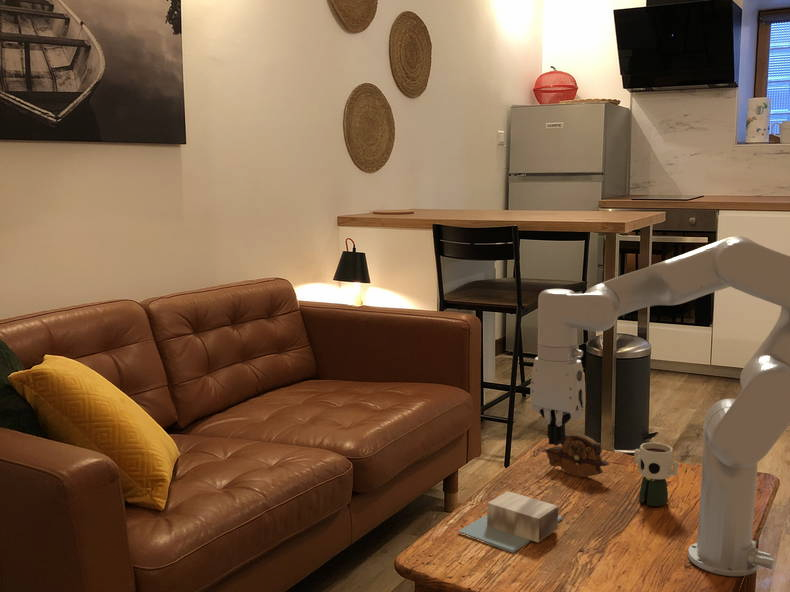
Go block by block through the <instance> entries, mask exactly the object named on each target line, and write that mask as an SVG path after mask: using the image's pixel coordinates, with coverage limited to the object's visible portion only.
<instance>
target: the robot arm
mask: <svg viewBox="0 0 790 592" xmlns="http://www.w3.org/2000/svg"><path fill="white" fill-rule="evenodd" d="M730 287H731V288H733V289H735V290H737V291H740V292H743V293H745V294H747V295H749V296H752V297H755V298H758V299H760V300H763V301H765V302H769V303H772V304H773V305H776V306H779V307H781V308H780V313H779V316H778V319H777V320H776V322H775V325H774V326H773V328H772V329H771V330H770V332H769V334H768V335H767V337H766V338H765V339H764V341H762V343H761V345H760V346H759V348H758V349H757V350H756V352H755V353H754V354H753V356H752V357H751V358H750V359H749V360H748V362H747V363H746V364H745V365H744V367H743V369H742V370H741V373H740V376H739V379H740V380H739V381H740V386H741V389H742V390H741V392H740V393H739V395H737V397H736V398H724V399H721V400H717V402H715V403H713V405H710V407H709V408H708V409H707V412H706V414H705V416H704V420H703V421H704V422H703V428H702V429H703V433H702V434H703V437H702V438H703V439H702V440H703V445H702V446H703V447H702V470H701V479H700V480H701V482H700V483H701V484H700V496H699V497H700V498H699V513H698V525H697V526H698V527H697V537H696V538H697V540H696V542H695V543H692V544H691V545H690V546H689V547H688V549H687V557H688V559H689V560H690V562H691V563H692V564H694V565H695V566H697V567H698V568H700V569H701V570H704V571H706V572H708V573H709V572H710V573H712V574H716V575H721V576H725V577H726V576H727V577H745V576H750V575H752V574H755V573H756V572H757V571H758V569H759V566H760V567H762V568H765V569H768V570H773V569H774V566H775V559H774V558H772V554H771V553H768V552H767V551H766V552H765V551H761V550H759V549H758V548H756V547H757V546H756V545H757V541H755V540H753V539H752V538H753V527H754V515H755V512H754V511H755V499H756V491H757V490H756V489H757V480H758V479H757V477H758V463H759V462H760V461H761V460H762V459H764V458H765V456H767V455H768V454H769V452H770V451H771V449H772V448H773V447H774V446H775V444H776V443H777V442H778V441H779V439H780V438H781V437H782V435H783V434H784V433H785V431H786V430H787V429H788V427H789V426H790V255H788V254H785V253H782V252H779V251H776V250H774V249H770V248H768V247H766V246H763V245H761V244H759V243H757V242H755V241H754V240H752V239H751V238H748V237H745V236H741V235H734V236H730V237H725V238H723V239H720V240H717V241H714V242H712V243H709V244H706V245H704V246H701V247H698V248H696V249H693V250H691V251H688V252H685V253H683V254H680V255H677V256H674V257H672V258H669V259H666V260H663V261H661V262H657V263H653V264H652V265H649V266H647V267H643V268H640V269H637V270H634V271H630V272H628V273H626V274H622V275H620V276H617V277H613V278H612V279H609V280H606V281H603V282H601V283H598V284H595V285H593V286H591V287H590V288H588V289H587V290H585V292H584V293H576V292H575V291H574V290H571V289H567V288H566V289H565V288H550V289H549V288H548V289H544V290H542V291H541V292H539V295H538V300H537V303H538V305H537V356H536V357H535V358H534V362H533V367H532V370H531V378H530V391H529V392H530V393H529V394H530V396H529V397H530V403H531V406H530V408H531V410H532V411H534V412H536V413H538V414H540V415H541V417H543V419H544V422H545V424H546V425H547V439H548V445H551V446H552V445H553V446H554V447H555V446H560V445H561V443H562V442H563V441H564V439H565V434H566V424H567V423H568V422H569V421H570V420H579V419H581V418H583V414H584V413H583V410H582V409H584V408H585V406H586V384H585V383H586V382H585V375H584V369H583V364H582V360H581V359H578V358H582V357H583V355H584V350H582V349H580V348H579V345H578V329H579V330H585V331H589V332H598V333H599V332H605V331H607V330H610V329H611V328H612V327H613V326H614V325H615V324H616V323H617V320H618V318H619V317H621V316H623V315H627V314H629V313H631V312H634V311H638V310H640V309H643V308H644V309H645V308H648V307H654V306H677V305H681V304H685V303H688V302H690V301H693V300H696V299H698V298H701V297H705V296H706V295H709V294H713V293H715V292H717V291H721V290H725V289H727V288H730Z"/></svg>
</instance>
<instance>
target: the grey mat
mask: <svg viewBox="0 0 790 592" xmlns="http://www.w3.org/2000/svg"><path fill="white" fill-rule="evenodd" d="M561 521H563V516H561V515H558V523H559V522H561ZM458 532H460V533H462V534H465V535H468V536H470V537H473V538H476V539H479V540H481V541H484V542H486V543H488V544H487V545H489V544H490V545H489V546H491V545H493V546H492V547H494V546H495V547H494V548H497V547H498V548H497V549H501V550H502V551H506V552H509V553H512V554H514V553H516V552H517V551H519V550H520V549H521V548H523V547H524V546H526V545H527V544H528V543H530V542H532V540H529V539H526V538H523V537H520V536H517V535H514V534H511V533H508V532H505V531H502V530H499V529H496V528H493V527H490V526H487V514H485V515H483V516H481V517H480V518H479V519H477V520H475V521H473V522H471V523H469V524H468V525H466V526H464V527H463V528H461V529H459V530H458ZM458 532H457V533H458ZM486 543H485V544H486Z"/></svg>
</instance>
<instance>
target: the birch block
mask: <svg viewBox="0 0 790 592" xmlns="http://www.w3.org/2000/svg"><path fill="white" fill-rule="evenodd" d="M486 515H487V526H490V527H493V528H496V529H499V530H502V531H505V532H508V533H511V534H514V535H517V536H520V537H523V538H526V539H529V540H531V542H535V543H539V542H541V541H543V539H546V538H547V537H548V536H549V535H551V534H552V533H554V532H556V531H557V530H558V523H559V522H558V516H559V505H556V504H553V503H550V502H549V503H548V502H546V501H544V500H543V501H542V500H539V499H535V498H534V497H533V498H532V497H530V496H525V495H523V494H519V493H516V492H513V491H512V492H511V491H509V490H508V491H506V492H505V493H502V494H500V495H499V496H497V497H496V498H494V499H492V500H490V501H488V502H487V514H486Z"/></svg>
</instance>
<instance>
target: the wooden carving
mask: <svg viewBox="0 0 790 592" xmlns="http://www.w3.org/2000/svg"><path fill="white" fill-rule="evenodd" d="M560 445H561V446H560ZM560 445H557V446H555V445H554V446H553V447H551V446H550V447H549V448H546V449H545V453H546V455H547V458H548V463H549V465H550V466H551V467H554V468H555V467H560V468H561V470H563V471H564V472H565V473H568V474H569V475H571V476H575V477H580V478H587V477H588V478H589V477H592V476H596V475H600V474H603V473H604V470H603V469H602V467H605V466H609V465H611V464H610V462H609V461H608V460H605V459H602V457H601V454H602V451H603V447H602V443H600V442H597V441H595V440H594V439H593V438H591V437H589V436H587V435H584V434H580V433H575V434H571V435H570V434H569V433H565V439H564V441H563V442H562V443H561V444H560Z"/></svg>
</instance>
